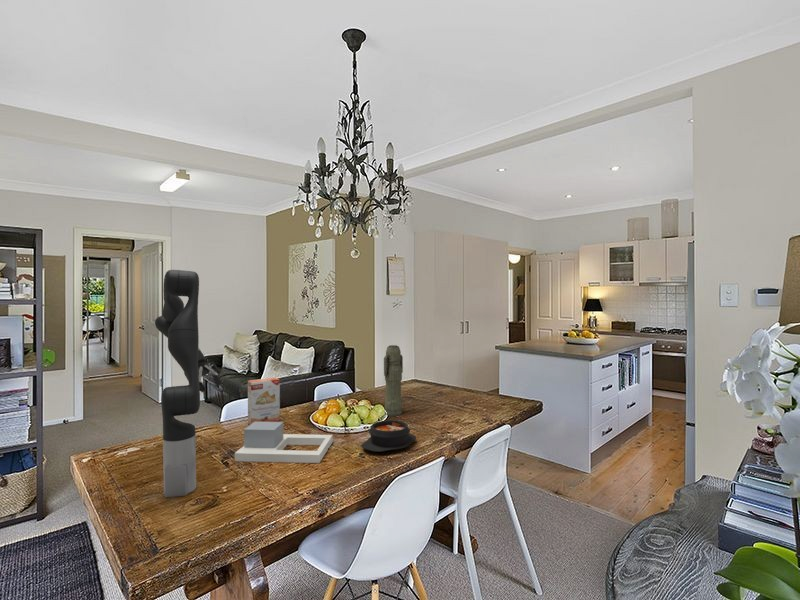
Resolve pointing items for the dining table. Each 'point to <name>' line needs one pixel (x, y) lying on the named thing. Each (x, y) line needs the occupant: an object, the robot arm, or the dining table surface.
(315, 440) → the hole deck
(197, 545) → the dining table surface
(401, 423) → the casserole
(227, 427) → the dining table surface
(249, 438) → the slate block
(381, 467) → the dining table surface
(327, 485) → the dining table surface
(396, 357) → the stone statue
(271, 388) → the cracker box
